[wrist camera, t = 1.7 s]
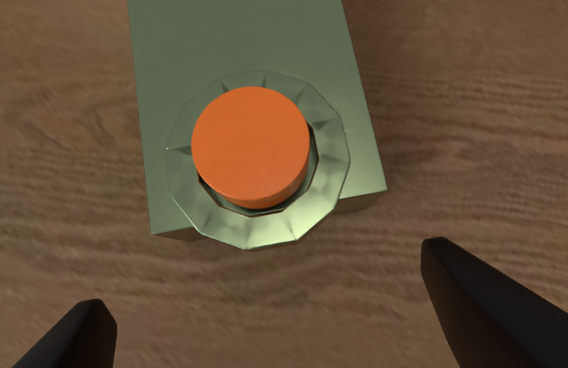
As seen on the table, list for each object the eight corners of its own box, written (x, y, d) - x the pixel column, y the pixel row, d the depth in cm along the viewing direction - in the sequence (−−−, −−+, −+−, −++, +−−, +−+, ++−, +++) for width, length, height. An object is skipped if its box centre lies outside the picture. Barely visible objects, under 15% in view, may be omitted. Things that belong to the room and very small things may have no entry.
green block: (373, 235, 20) (409, 220, 13) (191, 268, 20) (134, 271, 13) (323, 18, 23) (332, -86, 16) (164, 49, 23) (105, -42, 16)
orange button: (318, 198, 14) (320, 187, 12) (213, 217, 14) (198, 210, 12) (298, 101, 15) (297, 76, 13) (199, 119, 15) (183, 97, 13)
